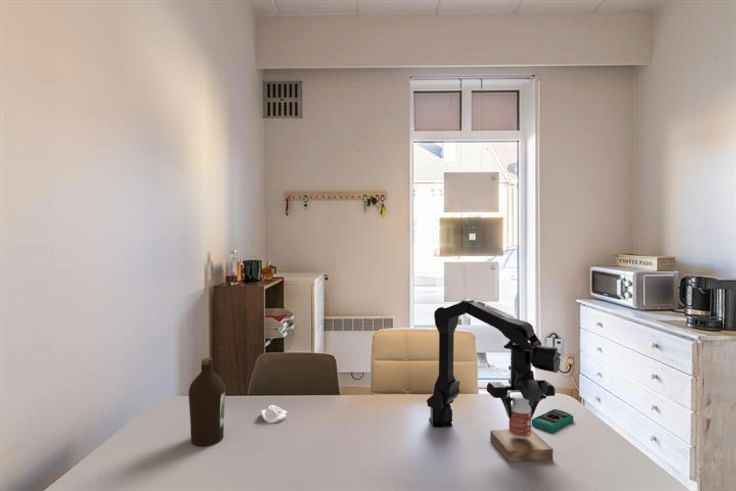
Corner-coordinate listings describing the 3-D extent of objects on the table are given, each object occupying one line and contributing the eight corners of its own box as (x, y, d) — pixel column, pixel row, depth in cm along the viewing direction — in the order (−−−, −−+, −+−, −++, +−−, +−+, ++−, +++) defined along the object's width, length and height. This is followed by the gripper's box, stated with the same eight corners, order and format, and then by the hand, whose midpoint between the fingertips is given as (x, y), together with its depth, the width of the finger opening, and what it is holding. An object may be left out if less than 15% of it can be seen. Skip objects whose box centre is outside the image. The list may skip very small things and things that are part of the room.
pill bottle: (531, 440, 122) (532, 402, 122) (509, 437, 124) (509, 399, 124) (530, 431, 128) (530, 394, 128) (508, 428, 130) (509, 392, 130)
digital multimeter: (574, 422, 146) (574, 413, 146) (551, 434, 137) (551, 425, 137) (554, 415, 152) (554, 407, 152) (530, 426, 143) (530, 417, 143)
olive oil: (188, 450, 125) (187, 365, 125) (189, 434, 135) (189, 356, 135) (226, 444, 129) (225, 362, 128) (225, 429, 139) (224, 353, 138)
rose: (252, 407, 146) (271, 398, 155) (252, 420, 146) (271, 410, 155) (275, 413, 142) (293, 403, 150) (275, 426, 142) (293, 415, 150)
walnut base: (508, 462, 119) (508, 451, 119) (490, 440, 132) (490, 430, 132) (552, 459, 120) (552, 449, 120) (530, 437, 133) (530, 428, 133)
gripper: (501, 375, 117) (501, 431, 117) (566, 373, 119) (565, 428, 119) (486, 363, 128) (485, 414, 128) (545, 361, 130) (544, 412, 130)
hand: (520, 417), depth 126 cm, fingers closed on pill bottle, 6 cm apart
